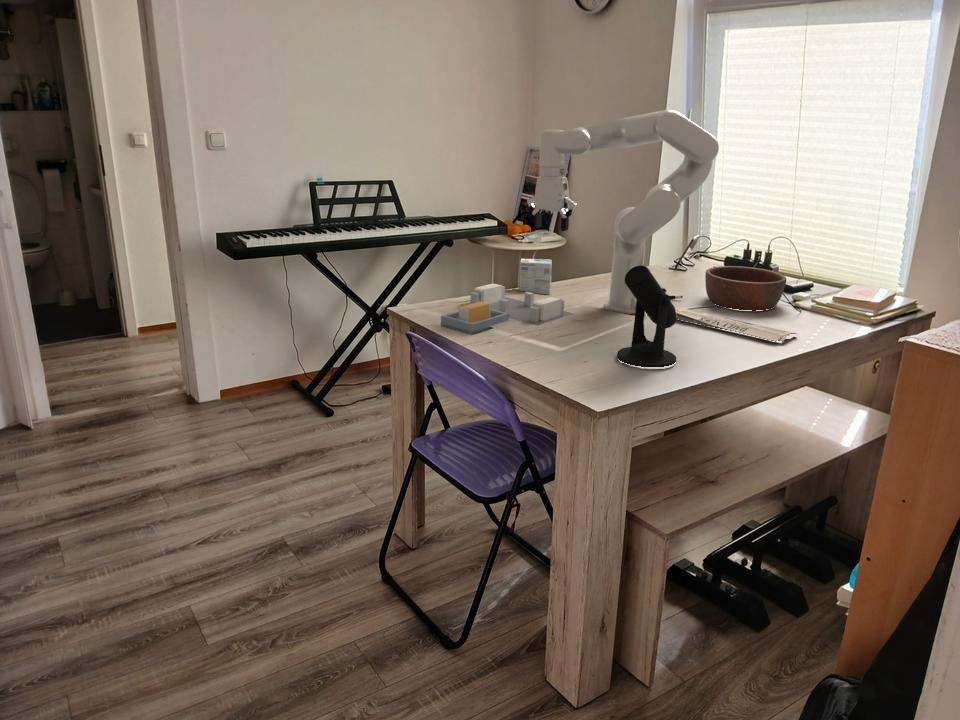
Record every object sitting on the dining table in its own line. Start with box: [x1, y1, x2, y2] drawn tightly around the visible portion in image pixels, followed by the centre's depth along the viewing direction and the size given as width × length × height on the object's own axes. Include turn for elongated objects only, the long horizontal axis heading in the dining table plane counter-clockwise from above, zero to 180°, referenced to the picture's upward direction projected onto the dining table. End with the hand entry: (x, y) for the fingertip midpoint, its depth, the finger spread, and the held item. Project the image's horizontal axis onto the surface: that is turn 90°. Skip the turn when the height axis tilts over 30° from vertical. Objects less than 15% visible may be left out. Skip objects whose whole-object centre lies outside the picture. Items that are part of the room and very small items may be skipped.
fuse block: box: [460, 285, 574, 326], centre depth 235 cm, size 30×18×5 cm, turn 49°
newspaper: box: [675, 308, 798, 342], centre depth 225 cm, size 35×12×4 cm, turn 48°
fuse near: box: [533, 296, 563, 321], centre depth 228 cm, size 4×10×5 cm, turn 139°
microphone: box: [616, 265, 678, 367], centre depth 193 cm, size 15×17×25 cm
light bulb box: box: [518, 258, 553, 295], centre depth 259 cm, size 11×7×11 cm, turn 84°
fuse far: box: [473, 283, 503, 304], centre depth 242 cm, size 4×10×5 cm, turn 139°
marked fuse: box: [458, 302, 491, 323], centre depth 221 cm, size 4×10×5 cm, turn 139°
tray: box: [440, 309, 510, 336], centre depth 222 cm, size 12×16×3 cm
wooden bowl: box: [704, 265, 787, 311], centre depth 251 cm, size 25×25×10 cm
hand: (550, 229), depth 238 cm, fingers open, 9 cm apart
